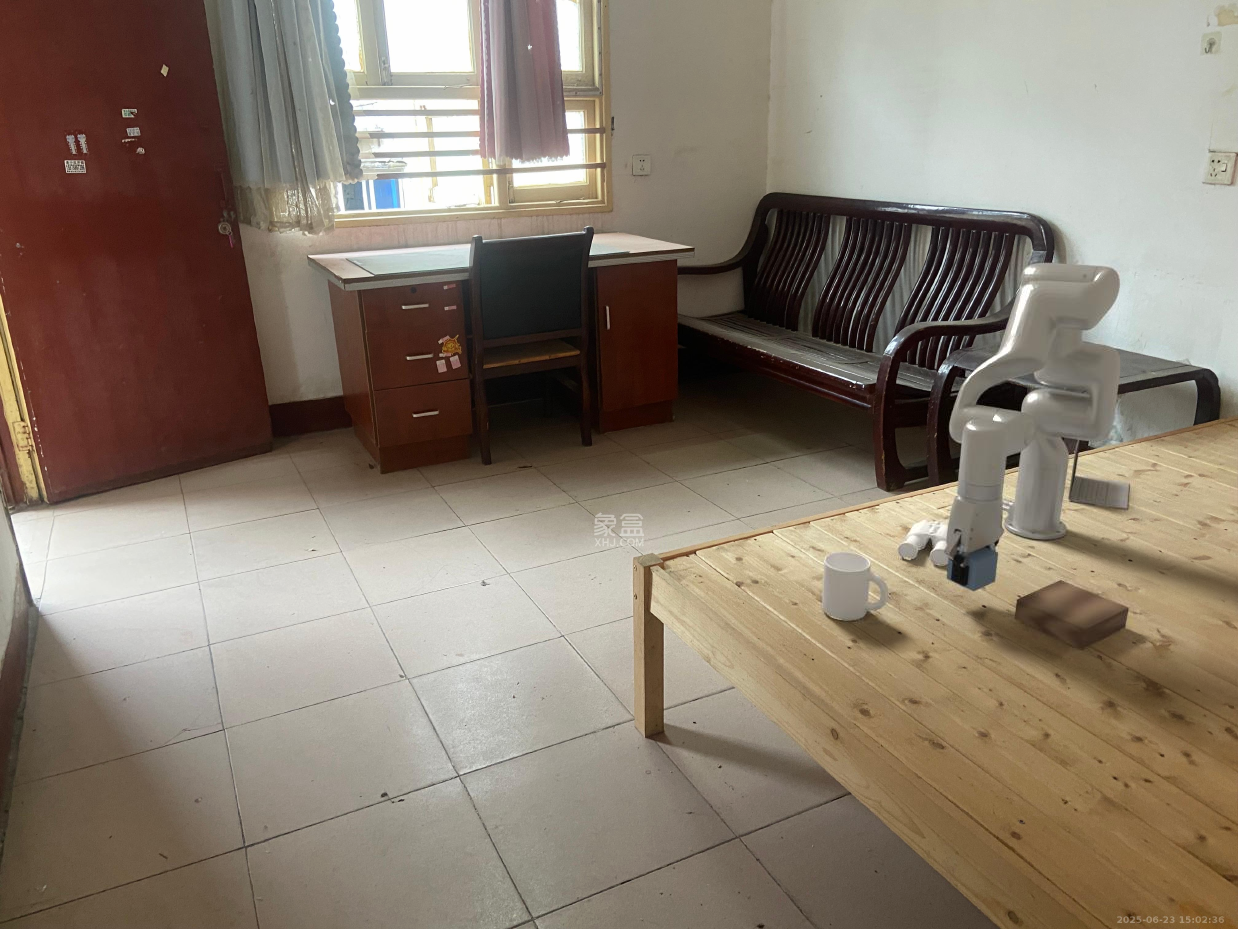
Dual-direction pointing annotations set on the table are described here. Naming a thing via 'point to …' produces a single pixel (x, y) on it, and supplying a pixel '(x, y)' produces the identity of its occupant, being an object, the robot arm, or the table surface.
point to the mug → (849, 586)
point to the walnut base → (1071, 614)
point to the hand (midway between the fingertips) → (971, 576)
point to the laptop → (1097, 489)
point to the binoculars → (926, 541)
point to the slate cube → (978, 568)
